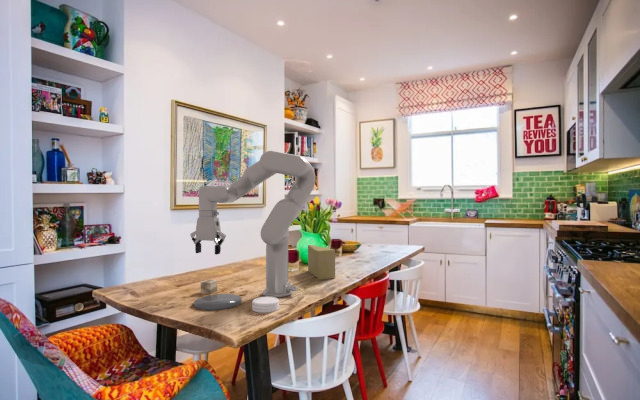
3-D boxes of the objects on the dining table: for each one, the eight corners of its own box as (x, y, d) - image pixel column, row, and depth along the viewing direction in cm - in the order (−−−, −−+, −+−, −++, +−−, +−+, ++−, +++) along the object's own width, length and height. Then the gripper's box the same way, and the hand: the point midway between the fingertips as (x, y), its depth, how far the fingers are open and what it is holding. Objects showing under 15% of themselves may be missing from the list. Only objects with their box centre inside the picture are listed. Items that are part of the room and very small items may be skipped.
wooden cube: (217, 291, 161) (217, 280, 160) (210, 294, 156) (210, 282, 156) (207, 290, 162) (207, 279, 162) (200, 293, 157) (200, 282, 157)
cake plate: (249, 298, 149) (249, 295, 149) (225, 312, 131) (225, 309, 131) (211, 295, 154) (211, 292, 154) (184, 308, 137) (183, 305, 137)
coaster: (279, 304, 141) (279, 295, 141) (277, 313, 131) (277, 303, 131) (254, 305, 140) (254, 296, 140) (250, 313, 130) (249, 304, 130)
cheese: (301, 272, 199) (300, 244, 199) (316, 270, 203) (316, 243, 203) (318, 280, 179) (318, 250, 179) (336, 278, 184) (335, 248, 183)
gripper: (229, 214, 159) (229, 253, 160) (196, 213, 164) (196, 251, 165) (220, 215, 152) (220, 255, 152) (185, 214, 157) (185, 253, 158)
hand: (207, 253), depth 159 cm, fingers open, 9 cm apart
